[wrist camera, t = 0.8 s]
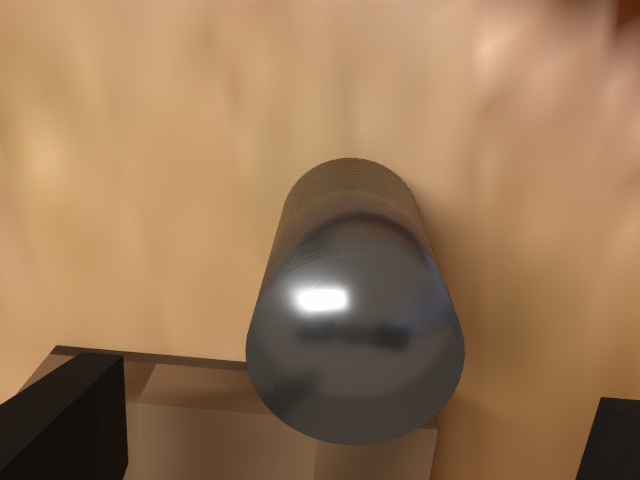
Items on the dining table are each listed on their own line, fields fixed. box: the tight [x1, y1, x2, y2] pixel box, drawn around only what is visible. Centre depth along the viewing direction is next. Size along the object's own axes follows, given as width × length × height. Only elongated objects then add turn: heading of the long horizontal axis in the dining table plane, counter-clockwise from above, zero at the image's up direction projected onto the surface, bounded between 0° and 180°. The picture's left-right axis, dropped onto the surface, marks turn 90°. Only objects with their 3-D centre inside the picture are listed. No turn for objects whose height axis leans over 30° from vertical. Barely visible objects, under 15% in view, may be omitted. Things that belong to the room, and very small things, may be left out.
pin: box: [246, 158, 465, 445], centre depth 14 cm, size 4×4×7 cm
